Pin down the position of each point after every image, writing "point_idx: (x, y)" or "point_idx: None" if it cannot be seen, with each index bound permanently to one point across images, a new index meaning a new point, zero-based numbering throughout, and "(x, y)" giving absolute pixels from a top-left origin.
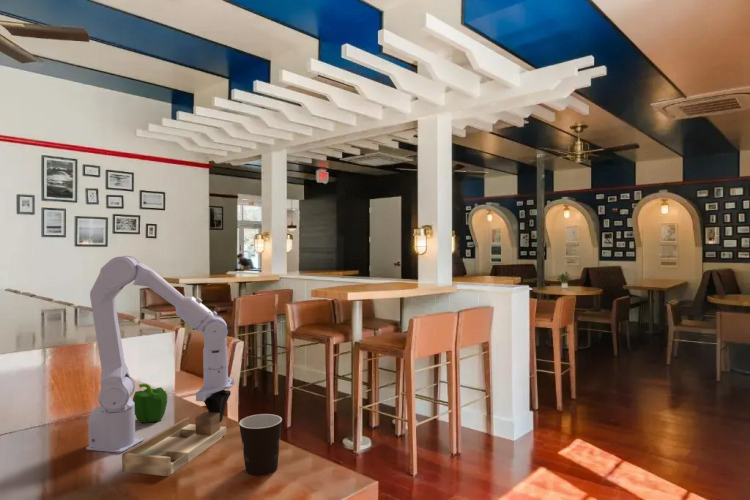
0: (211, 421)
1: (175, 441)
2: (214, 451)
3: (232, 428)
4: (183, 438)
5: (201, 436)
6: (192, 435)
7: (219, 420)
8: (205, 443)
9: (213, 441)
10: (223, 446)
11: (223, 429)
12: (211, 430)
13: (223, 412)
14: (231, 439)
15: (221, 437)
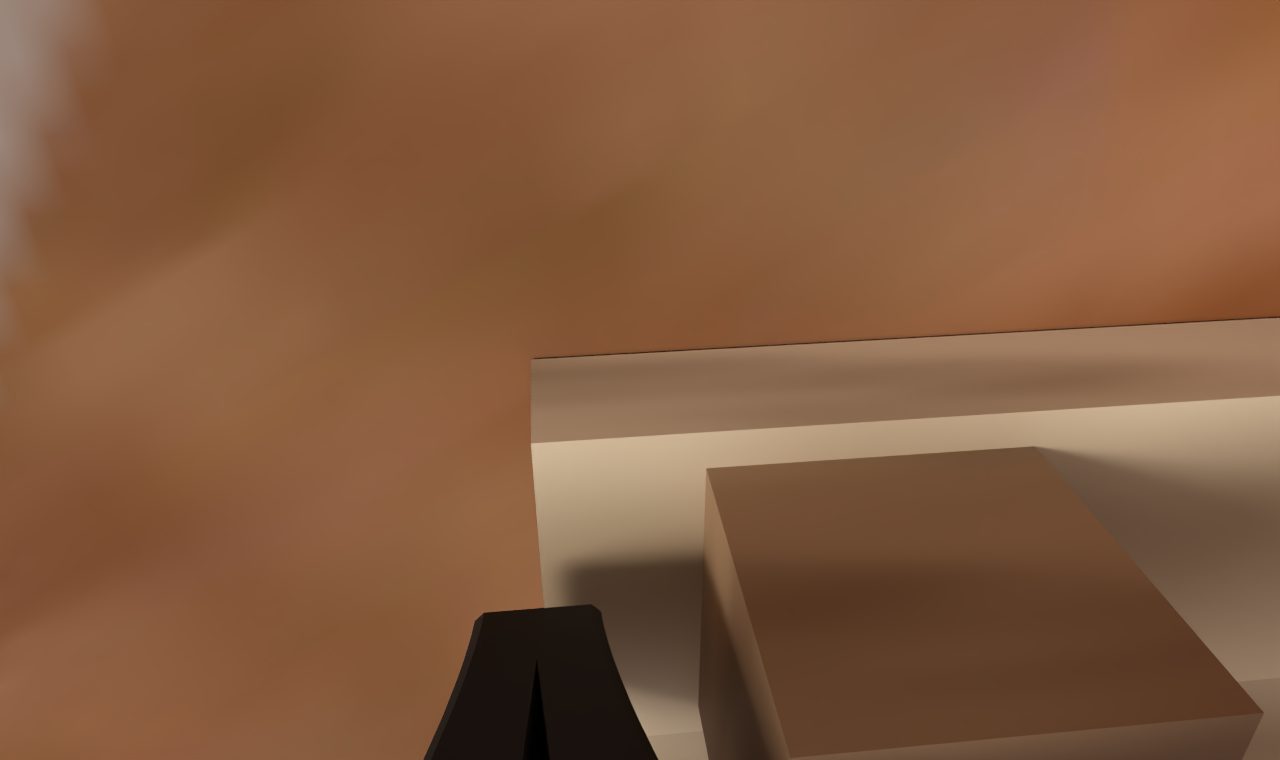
0: (1166, 645)
1: (1252, 747)
2: (1275, 144)
3: (194, 427)
4: None
5: None
6: None
7: (763, 600)
8: (1263, 371)
9: (978, 356)
10: (1058, 110)
11: (642, 425)
12: (1065, 503)
13: (450, 752)
14: (712, 148)
15: (701, 357)
